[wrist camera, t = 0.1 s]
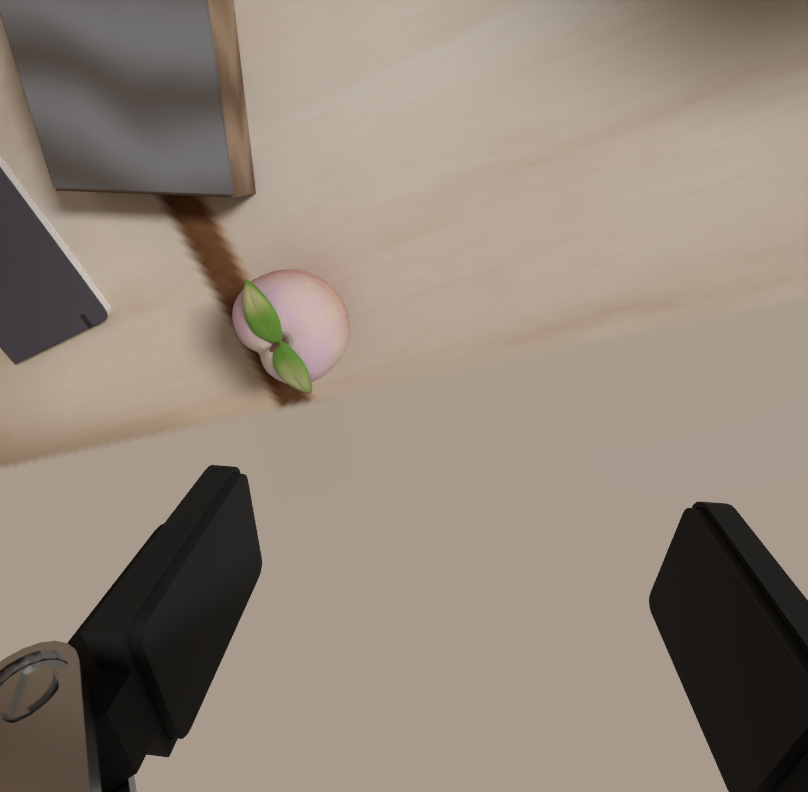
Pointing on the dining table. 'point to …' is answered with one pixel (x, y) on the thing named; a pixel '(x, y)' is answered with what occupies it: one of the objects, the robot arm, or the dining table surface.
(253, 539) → the robot arm
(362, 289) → the dining table surface
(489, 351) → the dining table surface
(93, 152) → the dock
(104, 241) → the dining table surface
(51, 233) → the notebook
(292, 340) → the decorative fruit
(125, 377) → the dining table surface
